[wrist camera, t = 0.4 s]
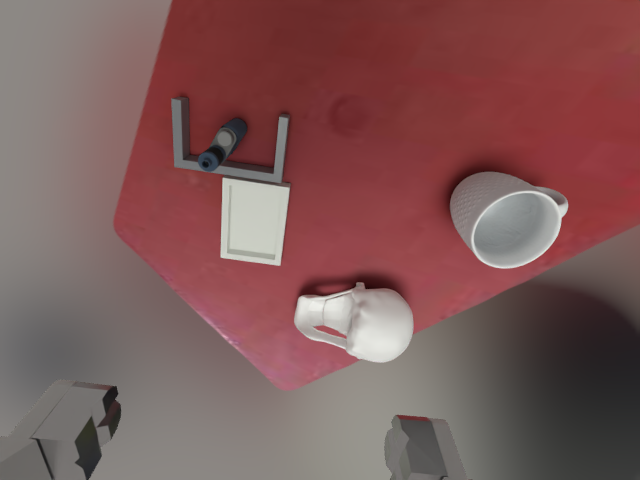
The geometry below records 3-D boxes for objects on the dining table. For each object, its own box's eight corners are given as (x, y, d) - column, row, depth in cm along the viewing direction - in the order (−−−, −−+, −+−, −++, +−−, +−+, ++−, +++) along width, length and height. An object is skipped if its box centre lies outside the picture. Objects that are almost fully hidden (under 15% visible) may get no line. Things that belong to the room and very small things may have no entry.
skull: (292, 344, 63) (394, 344, 66) (298, 379, 49) (428, 377, 52) (295, 275, 63) (398, 278, 65) (302, 290, 48) (433, 293, 51)
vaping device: (218, 144, 50) (190, 166, 39) (235, 113, 48) (211, 128, 37) (233, 154, 51) (210, 179, 40) (251, 125, 49) (232, 142, 38)
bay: (179, 96, 47) (171, 98, 44) (290, 115, 48) (288, 118, 45) (182, 161, 51) (174, 166, 48) (283, 177, 52) (281, 183, 50)
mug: (538, 148, 50) (603, 174, 39) (532, 214, 55) (588, 255, 44) (436, 169, 52) (470, 200, 40) (440, 232, 57) (470, 275, 45)
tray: (226, 173, 52) (222, 177, 50) (290, 183, 53) (289, 187, 51) (224, 251, 58) (220, 257, 56) (281, 258, 59) (280, 265, 57)
